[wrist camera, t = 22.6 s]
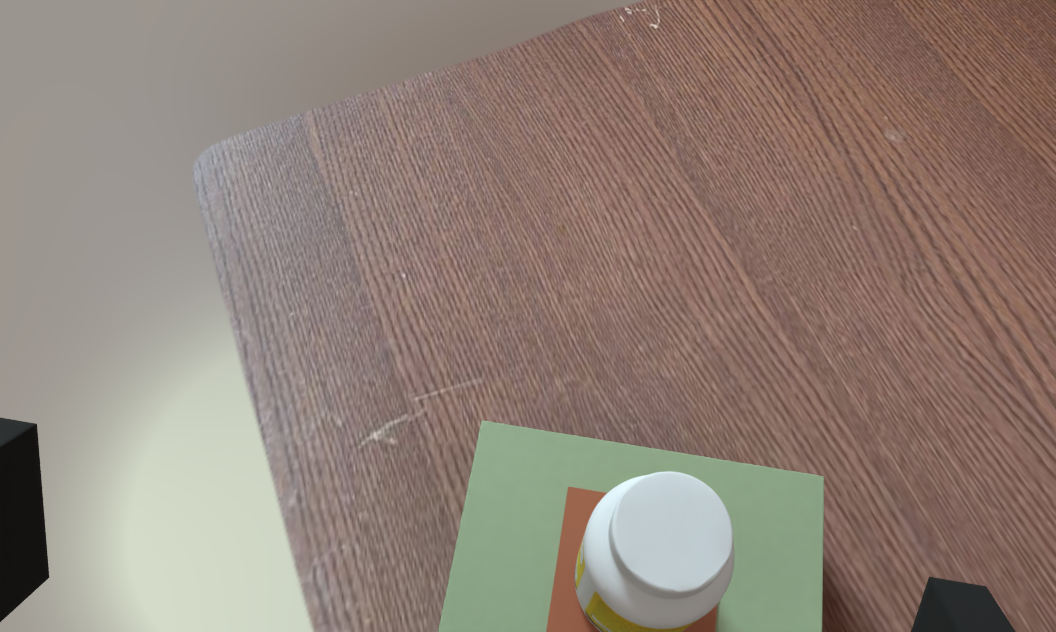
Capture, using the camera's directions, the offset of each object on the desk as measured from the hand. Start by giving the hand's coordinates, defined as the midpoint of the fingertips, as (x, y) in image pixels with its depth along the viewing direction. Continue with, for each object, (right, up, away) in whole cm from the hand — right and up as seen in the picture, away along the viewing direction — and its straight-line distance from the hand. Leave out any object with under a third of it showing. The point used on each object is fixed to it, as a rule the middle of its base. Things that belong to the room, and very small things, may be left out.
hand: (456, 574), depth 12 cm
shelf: (+6, -10, +28) cm, 30 cm away
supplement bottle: (+6, -8, +24) cm, 26 cm away
